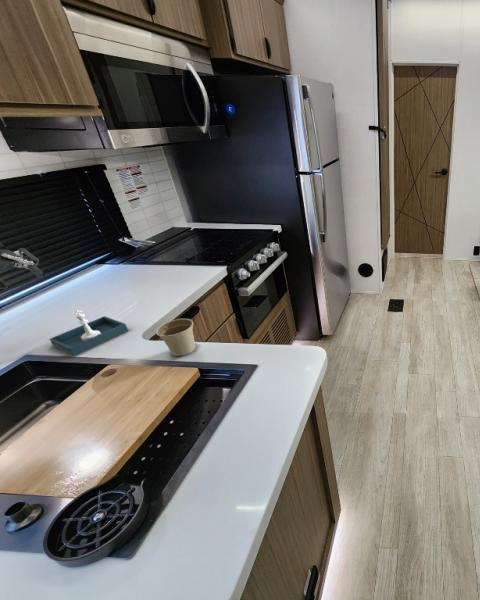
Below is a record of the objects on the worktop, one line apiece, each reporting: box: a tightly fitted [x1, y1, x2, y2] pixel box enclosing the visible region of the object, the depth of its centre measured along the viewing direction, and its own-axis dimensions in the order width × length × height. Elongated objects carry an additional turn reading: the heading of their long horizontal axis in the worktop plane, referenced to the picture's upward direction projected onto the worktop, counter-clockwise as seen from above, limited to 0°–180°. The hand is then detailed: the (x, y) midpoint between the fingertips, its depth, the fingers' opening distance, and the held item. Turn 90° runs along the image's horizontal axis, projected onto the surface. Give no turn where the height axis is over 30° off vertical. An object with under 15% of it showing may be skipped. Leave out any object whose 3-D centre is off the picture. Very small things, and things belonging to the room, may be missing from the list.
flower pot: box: [155, 318, 196, 357], centre depth 99 cm, size 9×9×9 cm
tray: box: [49, 315, 129, 357], centre depth 107 cm, size 15×12×3 cm
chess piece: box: [74, 309, 101, 341], centre depth 105 cm, size 5×5×10 cm
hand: (24, 281), depth 101 cm, fingers open, 8 cm apart
